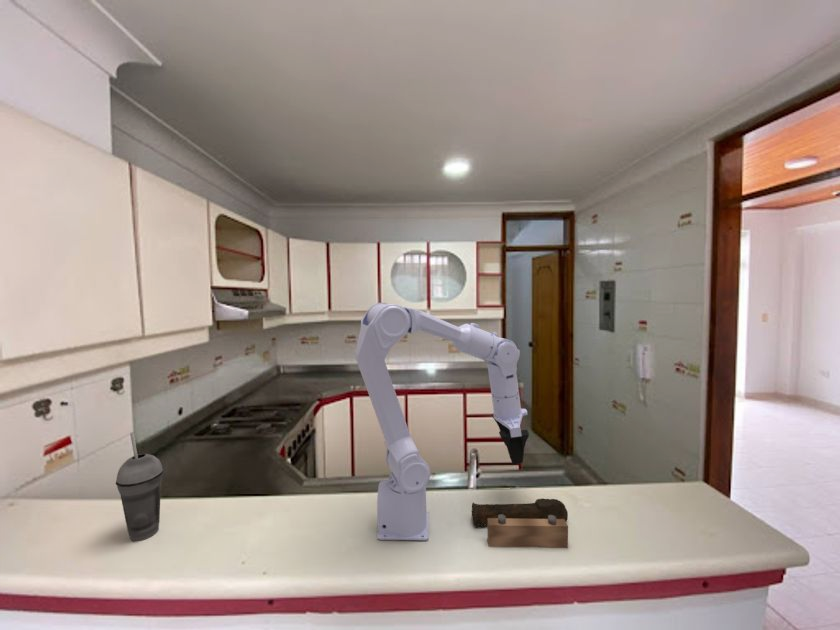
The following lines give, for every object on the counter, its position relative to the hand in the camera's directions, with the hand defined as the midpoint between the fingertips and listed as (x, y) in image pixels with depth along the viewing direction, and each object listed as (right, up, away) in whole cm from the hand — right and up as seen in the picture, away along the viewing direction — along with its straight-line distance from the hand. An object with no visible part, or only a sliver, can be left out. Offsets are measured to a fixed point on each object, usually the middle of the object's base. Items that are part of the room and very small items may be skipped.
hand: (513, 452), depth 78 cm
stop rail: (-1, -12, -12) cm, 17 cm away
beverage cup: (-74, -13, -8) cm, 75 cm away
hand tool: (0, -12, -6) cm, 13 cm away
